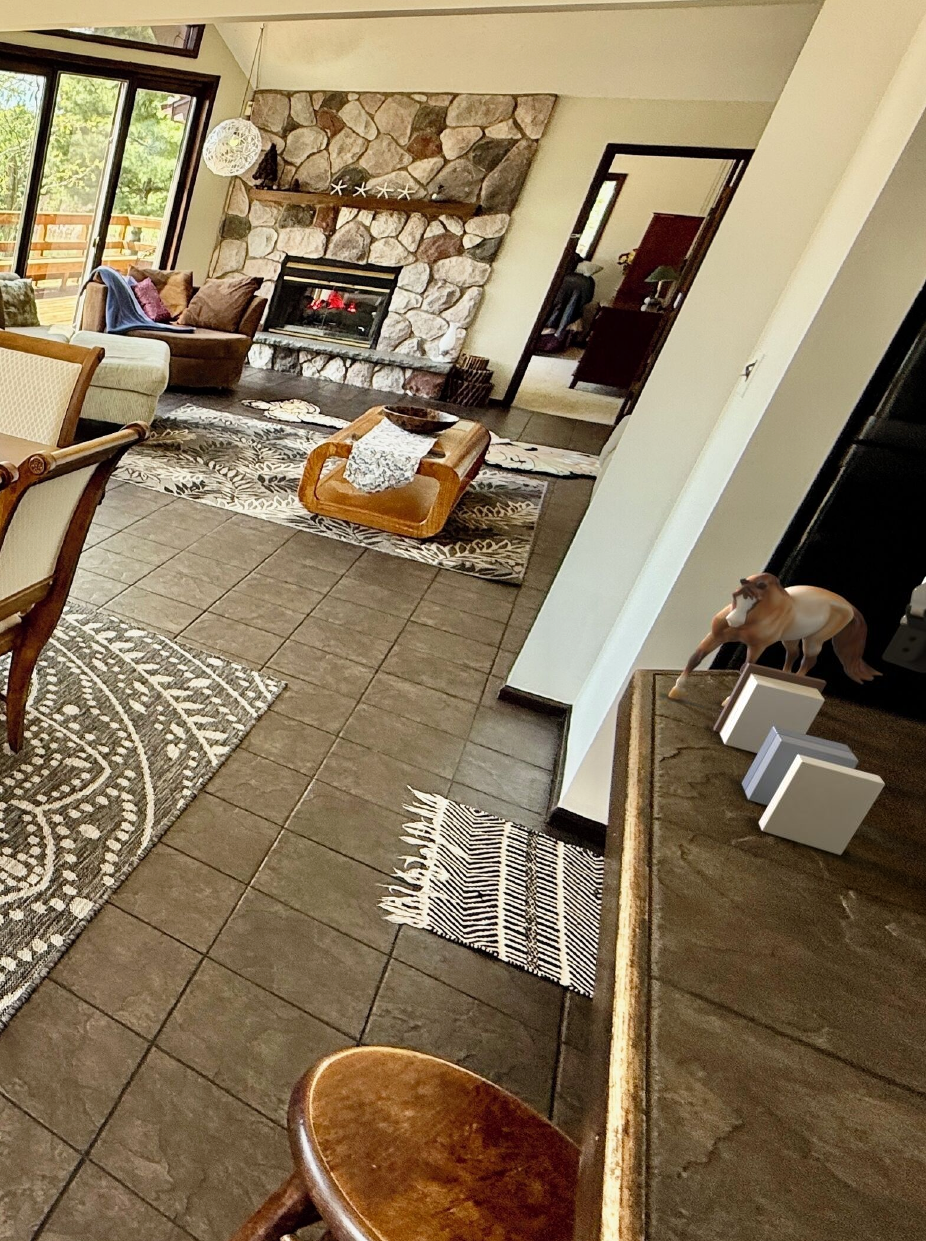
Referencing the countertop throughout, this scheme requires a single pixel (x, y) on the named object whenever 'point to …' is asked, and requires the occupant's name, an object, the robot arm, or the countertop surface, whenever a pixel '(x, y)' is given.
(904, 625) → the robot arm
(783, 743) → the grey books
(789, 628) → the horse figurine
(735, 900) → the countertop surface
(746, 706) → the white books
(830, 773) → the white book
